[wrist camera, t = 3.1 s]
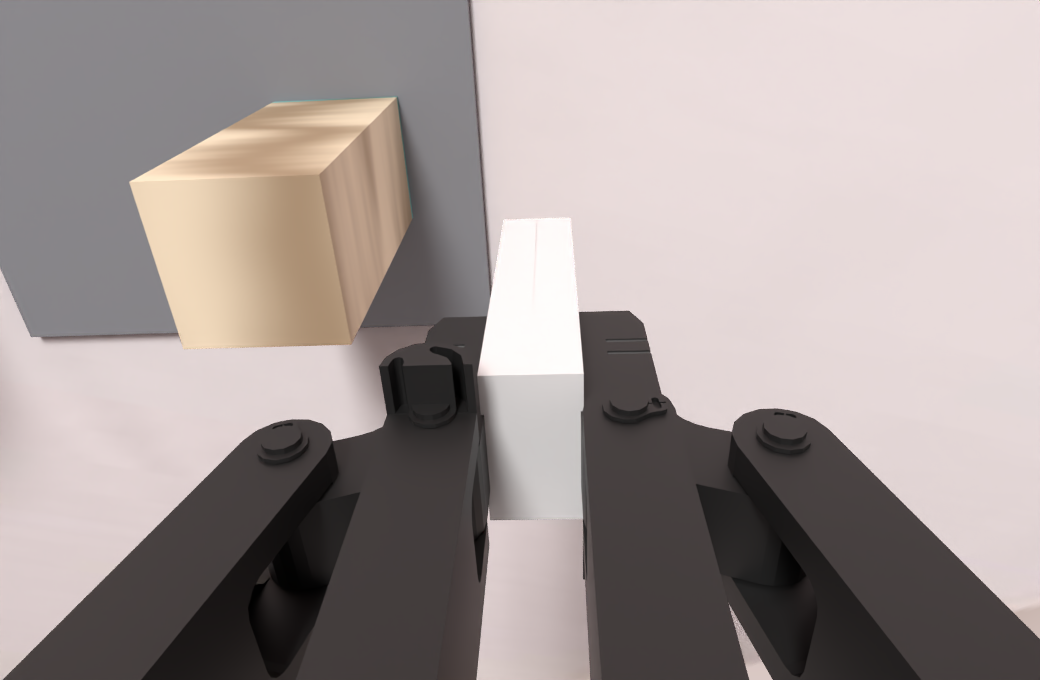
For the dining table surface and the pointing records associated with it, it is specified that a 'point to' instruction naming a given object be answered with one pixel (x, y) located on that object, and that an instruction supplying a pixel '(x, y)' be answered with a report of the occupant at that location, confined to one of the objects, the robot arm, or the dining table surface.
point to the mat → (203, 113)
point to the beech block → (280, 223)
